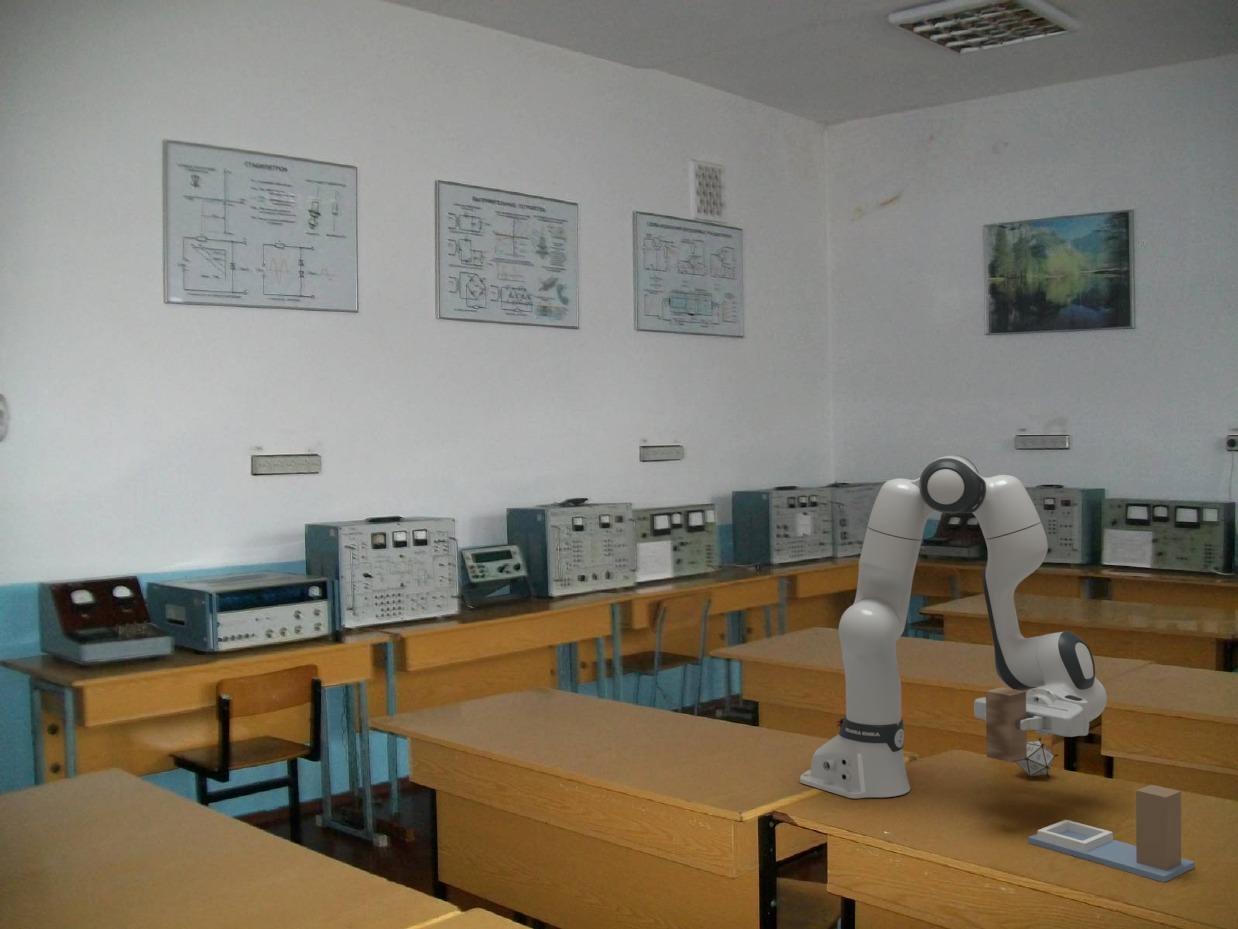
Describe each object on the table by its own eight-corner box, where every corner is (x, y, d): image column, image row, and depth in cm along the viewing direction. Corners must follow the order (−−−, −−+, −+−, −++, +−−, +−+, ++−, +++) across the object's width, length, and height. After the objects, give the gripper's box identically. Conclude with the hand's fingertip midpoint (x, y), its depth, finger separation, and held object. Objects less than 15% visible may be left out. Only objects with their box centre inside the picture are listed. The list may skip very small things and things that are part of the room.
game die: (1026, 795, 250) (996, 756, 251) (1042, 772, 256) (1012, 735, 257) (1058, 783, 243) (1027, 743, 245) (1073, 760, 249) (1043, 721, 250)
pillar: (986, 756, 217) (985, 691, 217) (1002, 751, 220) (1001, 687, 220) (1010, 762, 213) (1009, 695, 213) (1026, 757, 216) (1026, 691, 216)
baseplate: (1028, 843, 210) (1027, 769, 210) (1059, 830, 216) (1059, 759, 216) (1164, 882, 191) (1164, 802, 191) (1194, 867, 197) (1194, 789, 197)
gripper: (998, 684, 233) (954, 695, 224) (1096, 702, 216) (1053, 714, 208) (998, 717, 233) (955, 729, 224) (1096, 736, 217) (1054, 750, 208)
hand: (1003, 722), depth 216 cm, fingers closed on pillar, 5 cm apart
